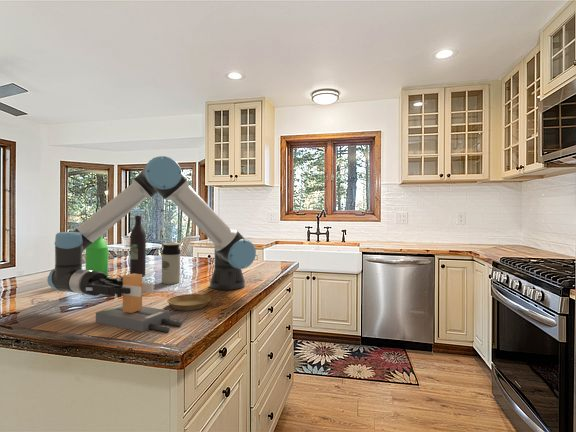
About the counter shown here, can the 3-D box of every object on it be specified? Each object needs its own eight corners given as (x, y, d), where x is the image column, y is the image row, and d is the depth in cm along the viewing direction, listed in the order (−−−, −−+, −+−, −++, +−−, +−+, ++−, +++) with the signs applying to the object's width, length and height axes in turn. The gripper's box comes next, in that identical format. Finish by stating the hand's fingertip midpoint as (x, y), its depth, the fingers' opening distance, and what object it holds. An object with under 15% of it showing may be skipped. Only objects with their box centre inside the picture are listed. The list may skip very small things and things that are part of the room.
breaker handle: (122, 311, 102) (122, 275, 102) (133, 308, 106) (133, 273, 106) (131, 313, 101) (131, 276, 101) (142, 309, 105) (142, 274, 104)
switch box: (95, 322, 102) (95, 312, 102) (125, 312, 112) (126, 303, 112) (161, 335, 92) (161, 324, 92) (187, 323, 102) (188, 313, 102)
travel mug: (172, 279, 163) (173, 242, 163) (183, 282, 159) (183, 243, 158) (157, 282, 157) (158, 243, 157) (168, 285, 152) (168, 244, 152)
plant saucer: (193, 315, 111) (193, 307, 111) (157, 309, 117) (157, 301, 117) (219, 303, 125) (219, 296, 125) (186, 299, 131) (186, 292, 131)
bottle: (100, 284, 152) (101, 227, 151) (81, 283, 152) (81, 227, 151) (111, 280, 161) (111, 226, 160) (92, 279, 161) (93, 226, 160)
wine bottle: (130, 275, 173) (130, 215, 172) (145, 274, 176) (145, 215, 175) (129, 277, 166) (130, 215, 166) (145, 276, 169) (146, 215, 169)
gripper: (112, 288, 118) (166, 296, 109) (63, 300, 102) (122, 310, 93) (112, 266, 118) (167, 272, 109) (63, 275, 102) (123, 283, 93)
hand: (146, 290), depth 101 cm, fingers closed on breaker handle, 4 cm apart
